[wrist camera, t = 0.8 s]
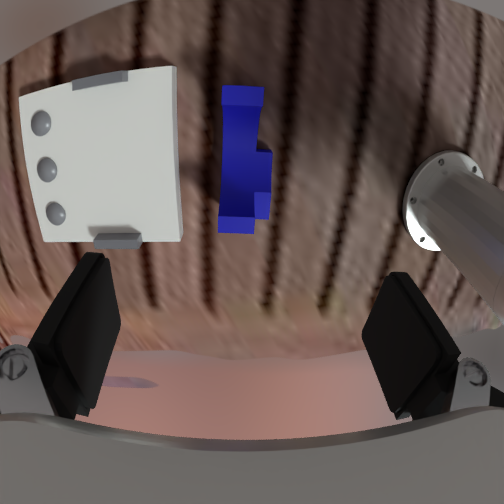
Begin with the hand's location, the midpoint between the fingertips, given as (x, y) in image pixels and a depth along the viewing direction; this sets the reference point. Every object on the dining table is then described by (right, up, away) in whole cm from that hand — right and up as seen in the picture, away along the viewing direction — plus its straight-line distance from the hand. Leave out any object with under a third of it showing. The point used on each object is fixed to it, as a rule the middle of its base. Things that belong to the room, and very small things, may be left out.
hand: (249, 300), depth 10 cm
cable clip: (0, +11, +18) cm, 21 cm away
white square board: (-15, +11, +17) cm, 26 cm away
